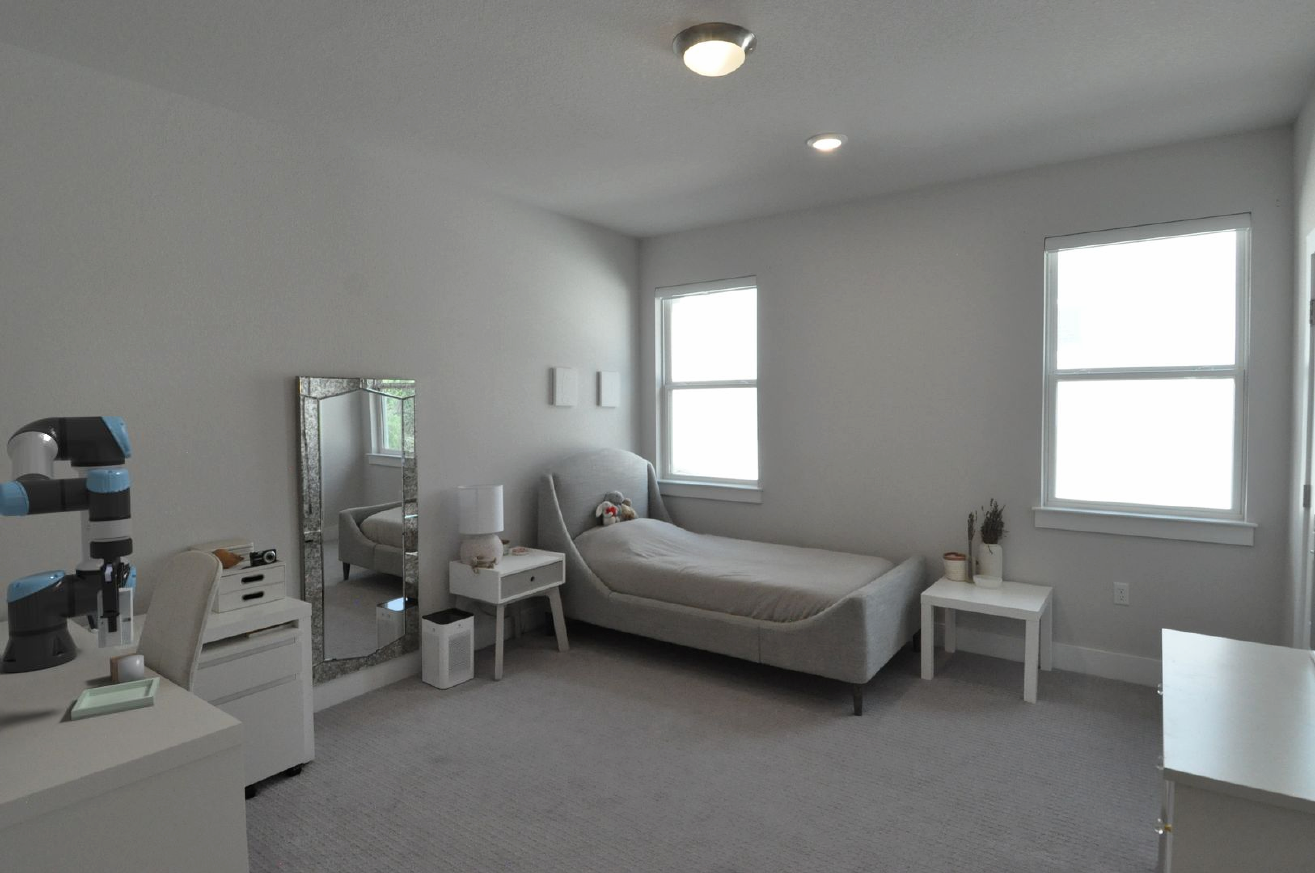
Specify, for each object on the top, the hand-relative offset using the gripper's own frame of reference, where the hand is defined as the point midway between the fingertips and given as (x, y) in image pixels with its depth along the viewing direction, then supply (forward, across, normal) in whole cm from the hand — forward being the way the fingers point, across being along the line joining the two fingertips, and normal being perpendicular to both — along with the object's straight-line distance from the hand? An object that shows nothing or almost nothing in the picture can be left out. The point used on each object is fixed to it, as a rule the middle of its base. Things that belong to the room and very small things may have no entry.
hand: (115, 642), depth 156 cm
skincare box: (0, 0, 0) cm, 1 cm away
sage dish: (+13, 0, 0) cm, 13 cm away
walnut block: (+13, -19, -1) cm, 23 cm away
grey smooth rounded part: (+13, -13, +1) cm, 19 cm away
